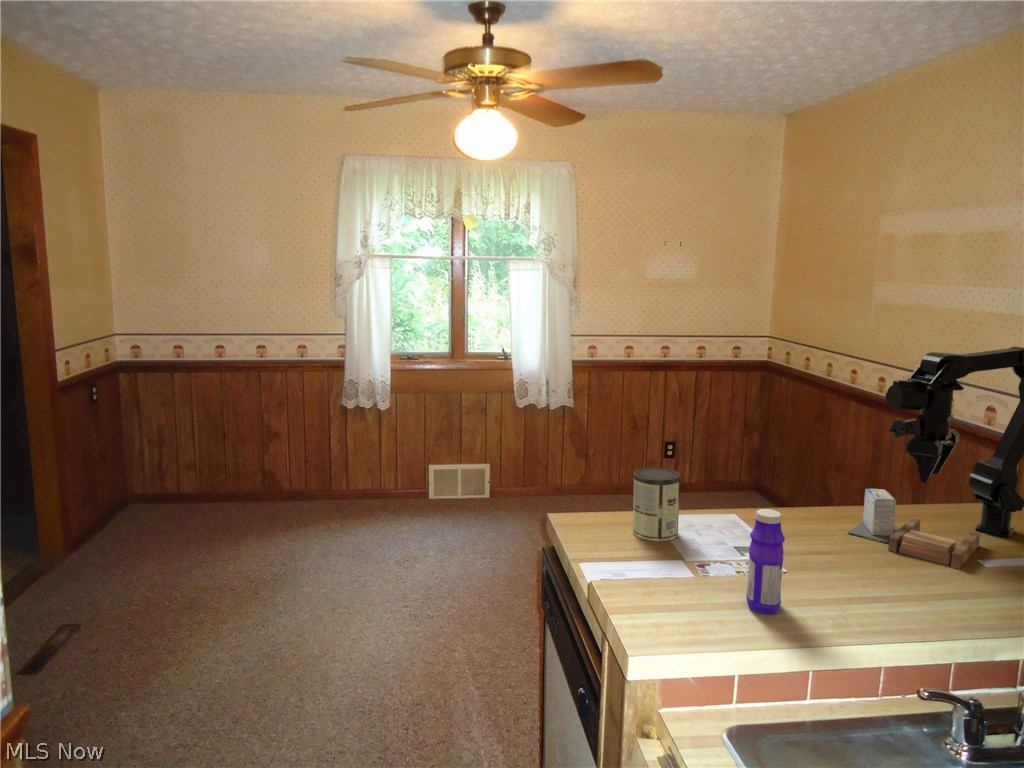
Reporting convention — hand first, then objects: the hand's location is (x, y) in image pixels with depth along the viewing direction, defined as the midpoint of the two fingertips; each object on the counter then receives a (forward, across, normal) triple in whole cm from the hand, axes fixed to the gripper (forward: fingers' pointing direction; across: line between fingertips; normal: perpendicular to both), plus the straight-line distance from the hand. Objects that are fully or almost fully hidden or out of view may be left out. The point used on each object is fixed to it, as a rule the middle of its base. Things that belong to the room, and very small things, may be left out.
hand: (929, 478), depth 153 cm
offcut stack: (+13, +14, +4) cm, 19 cm away
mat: (+13, +7, -8) cm, 17 cm away
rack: (+13, +8, +4) cm, 16 cm away
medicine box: (+13, +7, -8) cm, 16 cm away
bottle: (+13, +60, -10) cm, 62 cm away
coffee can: (+13, +44, -43) cm, 63 cm away
